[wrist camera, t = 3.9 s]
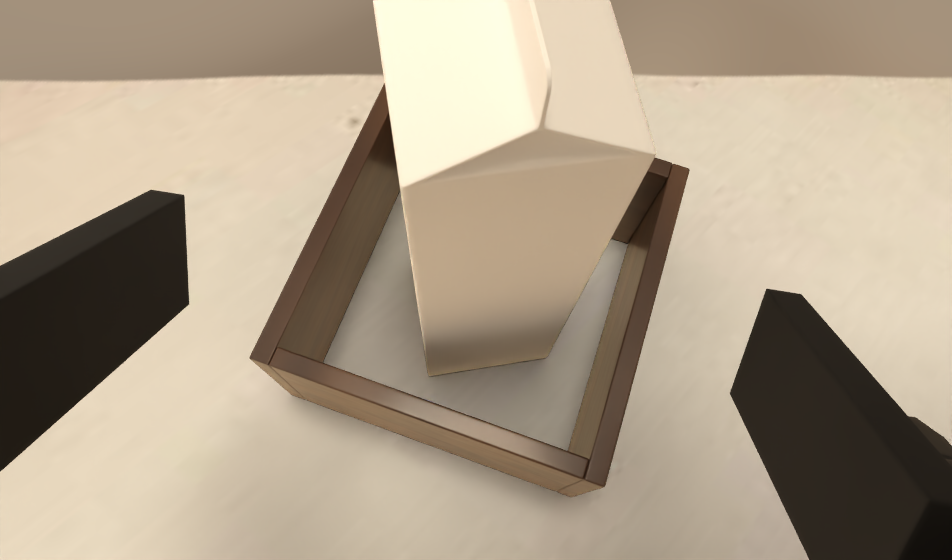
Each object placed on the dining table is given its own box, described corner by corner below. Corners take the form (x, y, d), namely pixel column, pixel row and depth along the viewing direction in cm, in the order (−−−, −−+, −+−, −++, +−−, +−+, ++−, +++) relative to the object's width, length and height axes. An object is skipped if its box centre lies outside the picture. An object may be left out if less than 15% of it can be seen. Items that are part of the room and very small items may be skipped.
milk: (524, 249, 35) (635, -165, 14) (547, 360, 33) (718, 60, 12) (409, 265, 34) (352, -143, 14) (425, 379, 32) (387, 98, 12)
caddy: (646, 236, 35) (690, 168, 29) (572, 497, 30) (605, 487, 24) (400, 155, 37) (388, 73, 30) (290, 394, 32) (248, 358, 25)
